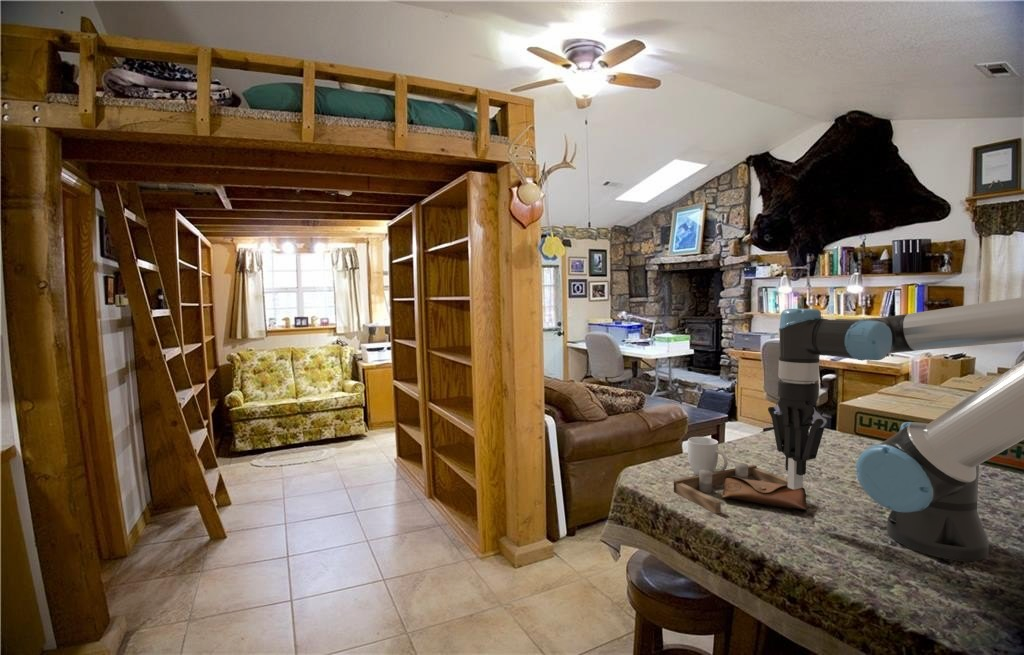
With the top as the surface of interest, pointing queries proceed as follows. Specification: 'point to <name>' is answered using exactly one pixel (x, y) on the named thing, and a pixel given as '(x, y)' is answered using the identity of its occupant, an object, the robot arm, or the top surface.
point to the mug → (704, 454)
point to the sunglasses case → (764, 493)
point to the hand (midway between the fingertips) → (795, 487)
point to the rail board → (709, 479)
